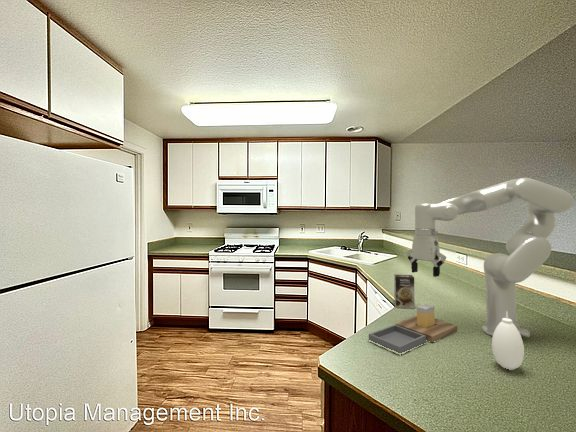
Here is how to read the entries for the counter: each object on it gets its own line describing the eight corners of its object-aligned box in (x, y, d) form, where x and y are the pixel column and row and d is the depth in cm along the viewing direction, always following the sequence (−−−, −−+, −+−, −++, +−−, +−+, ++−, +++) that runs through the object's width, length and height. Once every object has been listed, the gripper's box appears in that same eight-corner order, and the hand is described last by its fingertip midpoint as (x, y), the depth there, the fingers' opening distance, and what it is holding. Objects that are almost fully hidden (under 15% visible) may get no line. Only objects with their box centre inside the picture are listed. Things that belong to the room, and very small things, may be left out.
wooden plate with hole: (457, 331, 118) (457, 325, 118) (432, 343, 108) (432, 336, 108) (420, 319, 131) (420, 314, 131) (395, 329, 121) (395, 323, 121)
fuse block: (434, 330, 119) (434, 306, 119) (426, 334, 116) (425, 309, 116) (425, 327, 123) (425, 303, 123) (417, 330, 119) (416, 306, 119)
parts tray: (426, 343, 108) (425, 335, 108) (400, 356, 99) (399, 347, 99) (394, 331, 119) (394, 324, 119) (368, 341, 110) (368, 334, 110)
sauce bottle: (486, 365, 92) (485, 308, 92) (503, 360, 95) (502, 305, 95) (513, 377, 85) (512, 316, 84) (530, 372, 87) (529, 312, 87)
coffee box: (395, 308, 148) (395, 276, 147) (394, 304, 154) (393, 274, 154) (415, 309, 145) (414, 277, 145) (412, 305, 152) (412, 274, 152)
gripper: (450, 233, 115) (450, 276, 115) (412, 231, 129) (412, 269, 130) (439, 234, 111) (439, 279, 111) (401, 232, 126) (401, 271, 126)
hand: (425, 274), depth 120 cm, fingers open, 9 cm apart
